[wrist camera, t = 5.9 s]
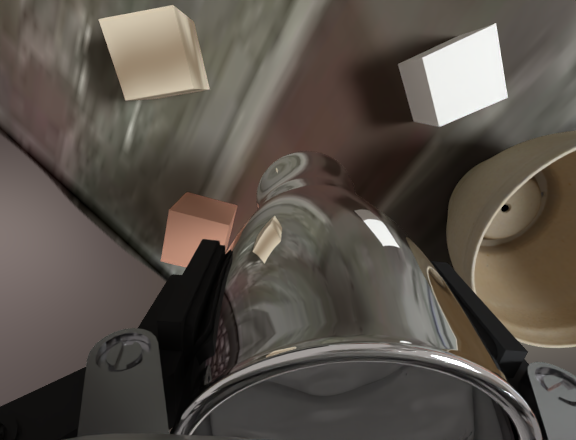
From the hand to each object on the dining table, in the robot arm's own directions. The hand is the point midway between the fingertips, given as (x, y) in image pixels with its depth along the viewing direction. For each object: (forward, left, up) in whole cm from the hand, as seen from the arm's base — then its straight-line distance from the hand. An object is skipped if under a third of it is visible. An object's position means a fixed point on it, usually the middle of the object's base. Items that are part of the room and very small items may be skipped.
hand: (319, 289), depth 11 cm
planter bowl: (+2, +20, -20) cm, 28 cm away
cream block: (-8, +11, -20) cm, 24 cm away
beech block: (-7, -11, -20) cm, 24 cm away
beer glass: (0, 0, -9) cm, 9 cm away
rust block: (+7, -8, -20) cm, 22 cm away
